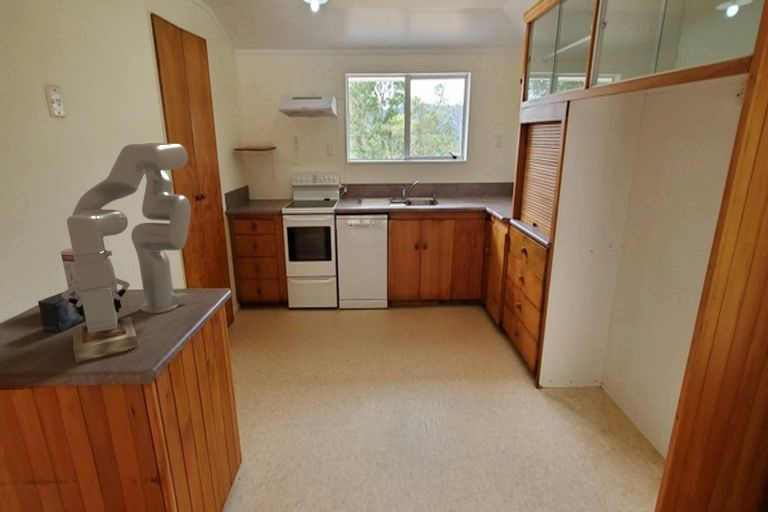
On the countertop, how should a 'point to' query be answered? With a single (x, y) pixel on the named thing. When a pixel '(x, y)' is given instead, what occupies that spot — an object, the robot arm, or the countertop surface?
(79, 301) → the robot arm
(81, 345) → the maple plinth
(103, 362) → the countertop surface
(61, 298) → the small box
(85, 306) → the supplement box
